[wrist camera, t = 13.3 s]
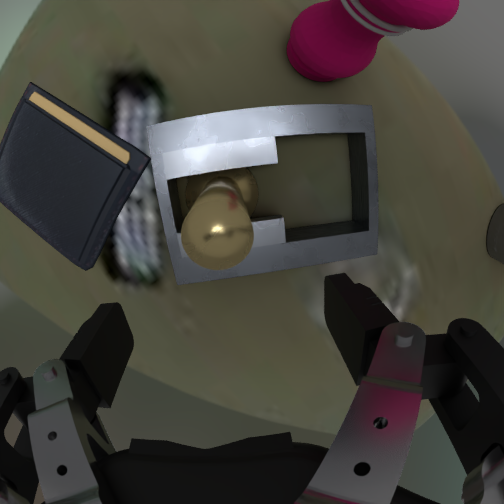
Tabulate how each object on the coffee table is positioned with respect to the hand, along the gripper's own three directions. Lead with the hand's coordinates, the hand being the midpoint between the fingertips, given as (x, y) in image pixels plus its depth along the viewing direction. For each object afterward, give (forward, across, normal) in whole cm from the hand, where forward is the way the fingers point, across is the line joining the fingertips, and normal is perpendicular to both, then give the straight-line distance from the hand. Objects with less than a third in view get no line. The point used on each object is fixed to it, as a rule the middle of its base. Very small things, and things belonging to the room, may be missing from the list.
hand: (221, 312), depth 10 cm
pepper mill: (+18, -11, -15) cm, 25 cm away
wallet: (+18, +18, -8) cm, 27 cm away
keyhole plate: (+17, -4, -2) cm, 18 cm away
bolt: (+17, 0, -2) cm, 17 cm away
